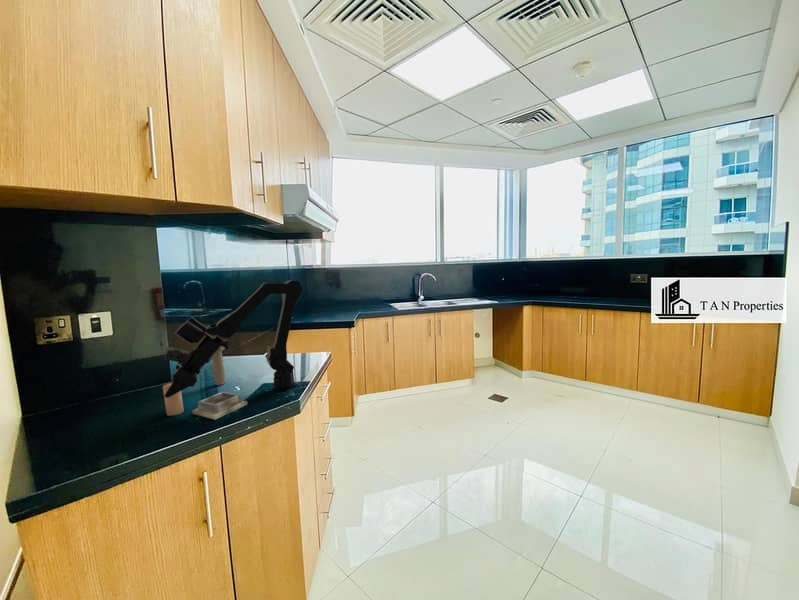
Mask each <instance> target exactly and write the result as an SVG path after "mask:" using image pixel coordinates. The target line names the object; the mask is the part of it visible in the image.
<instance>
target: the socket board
mask: <svg viewBox="0 0 799 600" xmlns="http://www.w3.org/2000/svg"><path fill="white" fill-rule="evenodd" d="M247 405H248V401H246V400H242V396H241V394H237V393H233V392H227V391H221V392H219V393H216V394H214V395H211V396H209V397H207V398H205V399H204V398H203V399H201V400H199V401H197V408H195V409H193V410H192V411H191V412H192V414H193V415H196V416H199V417H200V416H201V417H203V418H207V419H212V420H217V419H220V418H221V417H224V416H225V415H228V414H230V413H233V412H235V411H237V410H239V409H241V408H243V407H245V406H247Z"/></svg>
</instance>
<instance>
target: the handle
mask: <svg viewBox="0 0 799 600" xmlns="http://www.w3.org/2000/svg"><path fill="white" fill-rule="evenodd" d="M224 350H226V349H225V348H224V347H222V346H221V348H220V349H219V350H218V351H217V352H216V353H215V354H214V355H213V357H212V358H211V360H212V374H213V375H212V376H213V379H214V383H215V385H216V386H223V385H224V383H225V384H226V380H225V379H226V369H225V364H224V358H223V351H224ZM222 384H223V385H222Z"/></svg>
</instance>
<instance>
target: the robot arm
mask: <svg viewBox="0 0 799 600" xmlns="http://www.w3.org/2000/svg"><path fill="white" fill-rule="evenodd" d="M302 292H303V285H302V283H301V282H300V281H298V280H291V279H290V280H286V281H285V282H271V283H270V282H263V283H262V284H260V286H259V288H258V289H256V291H254V292H253V293H252V294H251V295H250V296H249V297H248V298H247V299H246V300H245V301H244V302H243V303H241V304H240V305H239V306H238V308H236V309H235V310H234V311H232V312H230V313H229V314H226V315H225V316H224V317H222V318H221V319H219V320H218V321H217V322H216V323H213V324H209V325H206V326H205V325H204V324H202V323H200V322H199V321H198V320H196V318H195V317H192V316H191V317H190V318H188V319H187V320H186V321H185V323H184V322H183V323H182V325H180V327H179V328H178V329H177V330H176V331H175V332H174V335H176V336H177V337H179V338H180V339H182V340H184V341H185V342H187V343H189V344H190V345H191V344H197V343H198V344H197V346H195V348H192V349H191V350H190V351H188V350H184V349H180V348H176V347H168V348H167V351H166V353H165V355H164V358H163V359H164V360H165V361H168V362H169V361H171V362H177V364H176V366H175V371H174V372H173V374H172V380H171V381H170V383H172V384H171V386H170V387H169V389H168V391H167V392H166V394H165V395H164V394H163V397H164V396H165V397H166V398H168V397H170V396H172V395H174V394H176V393H178V392H180V391H181V392H182V391H183V390H185V389H187V388H189V387H192V388H193V387H194V386H195V385H196V383H197V382H198V375H199V374H200V373H201V370H202V369H203V368H204V367H205V366H206V365H207V364H209V362H210V361H211V360H212V357H213V355H214V354H215V353H216V352H217V351H218V350H219V349H220V348H221V346H222V347H224V348H225V349H224V350H228V349H229V346H228V345H229V340H228V339H230V338H231V337H233V336H234V335H235V333H236V332H237V331H238V329H239V328H240V326H241V325H242V323H243V322H244V321H245V319H246V318H247V317H248V316H249V315H251V313H252V312H253V311H254V310H255V309H256V308H257V307H258V306H259V305H260V304H261V303H262V302H263V301H265V299H266V298H267V297H268V296H270V295H271V294H272V295H273V294H274V295H278V294H280V295H281V300H282V303H281V304H282V306H281V310H280V315H279V320H278V323H277V328H276V333H275V338H274V342H273V344H272V345H271V346H270V345H267V347H266V349H267V350H266V355H265V356H264V357H265V359H266V362H267V364H268V365H269V367H270V368H271V369H272V370H274V372H273V386H272V388H271V389H272V390H275V391H281V392H286V391H288V390H291V389H294V387H297V386H298V383H296V382H295V375H294V369H295V366H294V365H293V364H292V363H291V362H290V361H289V360H288V352H287V351H288V349H287V342H288V338H289V333H290V330H291V325H292V321H293V315H294V311H295V306H296V305H297V303H298V301H299V299H300V298H301V294H302ZM227 338H228V339H227Z"/></svg>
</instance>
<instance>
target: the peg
mask: <svg viewBox="0 0 799 600" xmlns="http://www.w3.org/2000/svg"><path fill="white" fill-rule="evenodd" d="M171 384H172V383H171V382H169V383H166V384H164V385H162V391H163V398H164V404H165V412H166V416H168V417H169V416H170V417H172V416H176V415H181V414H182V413H183V412H184V411H185V410H184V404H183V395H182V390H181V391H180V392H178V393H176V394H174V395H172V396H170V397H168V398H166V397H165V396H164V395H165V394H166V392H167V391H168V389H169V387H170V386H171Z"/></svg>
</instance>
